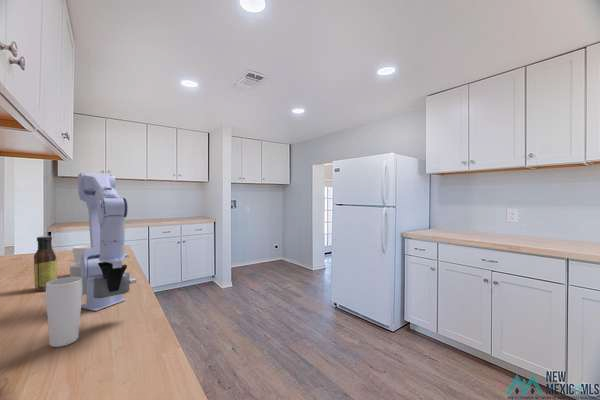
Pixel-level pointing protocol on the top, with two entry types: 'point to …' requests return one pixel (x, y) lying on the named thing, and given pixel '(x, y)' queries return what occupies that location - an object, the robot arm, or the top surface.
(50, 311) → the drinking glass
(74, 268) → the mug
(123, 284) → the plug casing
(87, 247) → the foam cup
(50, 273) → the sauce bottle
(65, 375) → the top surface
